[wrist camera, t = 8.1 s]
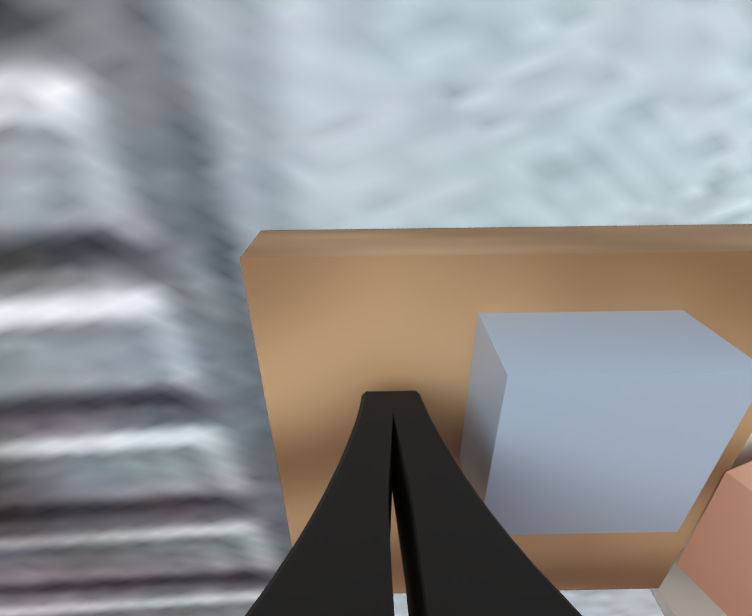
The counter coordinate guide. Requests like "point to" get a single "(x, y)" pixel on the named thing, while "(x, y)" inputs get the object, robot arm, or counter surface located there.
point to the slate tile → (598, 418)
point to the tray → (678, 591)
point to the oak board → (470, 344)
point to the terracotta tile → (725, 545)
